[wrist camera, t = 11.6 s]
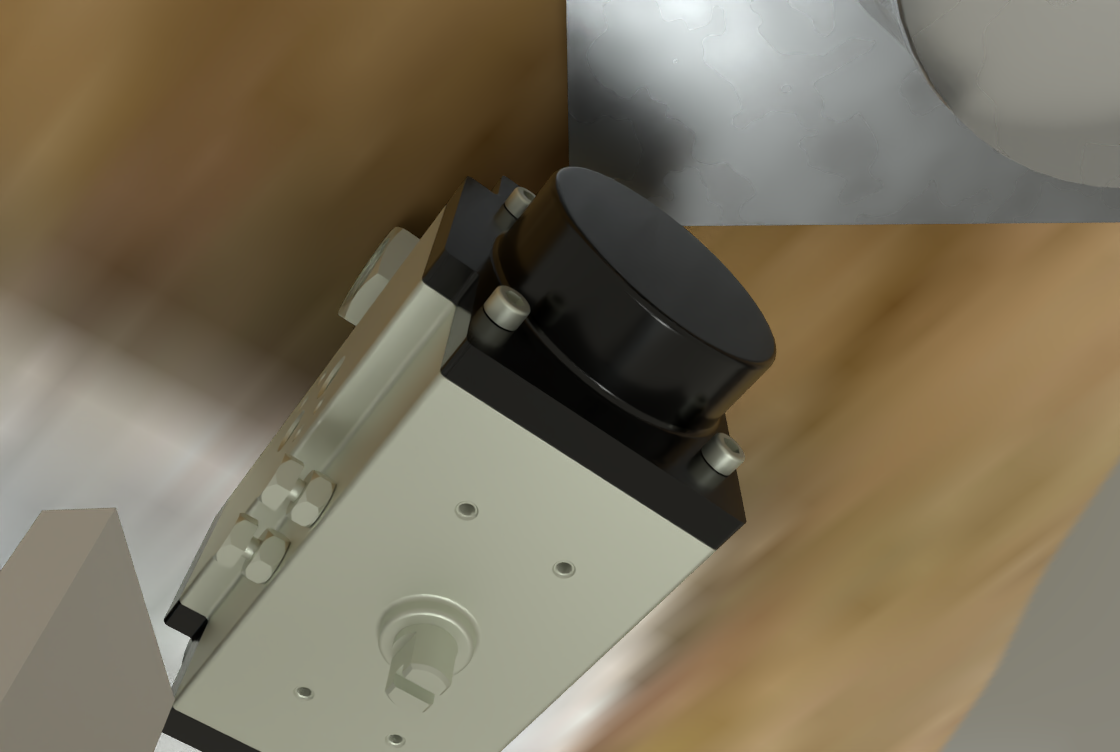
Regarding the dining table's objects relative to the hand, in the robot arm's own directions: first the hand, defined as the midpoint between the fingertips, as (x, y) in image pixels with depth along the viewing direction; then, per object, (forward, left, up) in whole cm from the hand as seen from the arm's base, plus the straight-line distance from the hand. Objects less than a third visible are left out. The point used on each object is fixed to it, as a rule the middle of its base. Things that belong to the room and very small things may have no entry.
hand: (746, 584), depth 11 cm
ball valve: (-6, -9, -25) cm, 28 cm away
